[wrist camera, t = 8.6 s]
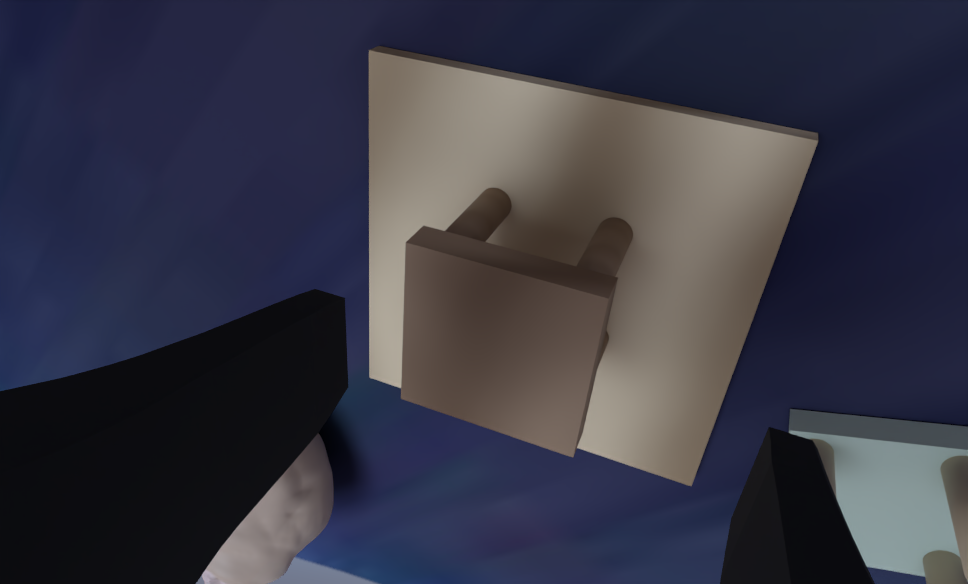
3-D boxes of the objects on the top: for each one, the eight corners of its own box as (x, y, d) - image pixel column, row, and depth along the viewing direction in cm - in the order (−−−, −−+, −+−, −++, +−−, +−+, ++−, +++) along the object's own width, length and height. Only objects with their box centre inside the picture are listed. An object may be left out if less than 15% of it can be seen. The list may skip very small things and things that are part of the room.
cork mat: (817, 133, 17) (818, 141, 17) (693, 473, 24) (691, 486, 23) (379, 45, 20) (368, 50, 20) (377, 368, 27) (369, 377, 26)
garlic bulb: (234, 449, 33) (98, 589, 27) (229, 346, 29) (70, 479, 23) (357, 506, 32) (245, 667, 25) (368, 404, 28) (239, 563, 22)
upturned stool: (990, 428, 19) (1033, 559, 15) (961, 557, 21) (993, 696, 18) (790, 408, 21) (787, 520, 17) (783, 528, 23) (779, 648, 20)
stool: (645, 217, 19) (608, 298, 15) (611, 360, 22) (573, 457, 18) (475, 176, 20) (405, 242, 17) (463, 315, 23) (400, 398, 20)
